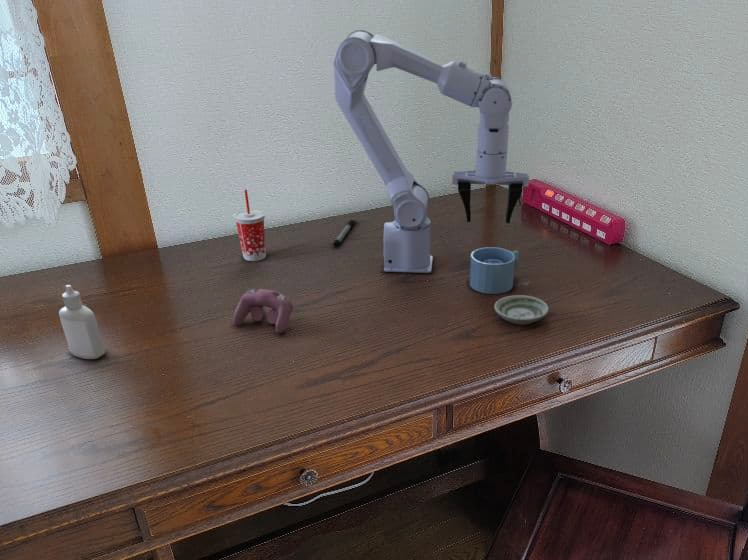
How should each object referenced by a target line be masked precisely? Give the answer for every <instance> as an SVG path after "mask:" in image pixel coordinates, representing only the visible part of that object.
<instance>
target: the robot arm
mask: <svg viewBox="0 0 748 560" xmlns="http://www.w3.org/2000/svg"><path fill="white" fill-rule="evenodd" d="M332 63H333V64H332V65H333V70H334V99H335V101H336V104H337V105H338V107H339V108H340V110H341V112H342V114H343V115H344V117H345V119H346V121H347V122H348V124H349V125H350V128H351V129H352V131H353V133H354V134H355V136H356V137H357V139H358V141H359V142H360V144H361V146H362V148H363V149H364V151H365V153H366V154H367V156H368V158H369V160H370V161H371V163H372V165H373V167H374V168H375V170H376V171H377V174H378V175H379V177H380V179H381V181H382V182H383V184H384V186H385V187H386V192H387V195H388V198H389V201H390V203H391V205H392V207H393V214H394V219H393V221H389V222H388V221H386V222H384V225H383V236H382V237H383V239H382V240H383V253H382V257H383V272H385V273H412V274H413V273H414V274H418V273H419V274H431V273H432V269H433V260H434V259H433V258H434V256H433V255H431V220H430V218H429V217H428V206H429V204H430V194H429V192H428V190H427V189H426V187H424V185H422V184H420V183H419V182H418V181H417V180H416V178H415V177H414V175H413V174H412V173H411V172H410V171H409V170H408V169H407V168H406V165H405V164H404V162H403V160H402V158H401V157H400V155H399V153H398V152H397V150H396V148H395V146H394V145H393V143H392V141H391V139H390V136H388V134H387V132H386V130H385V128H384V126H383V125H382V123H381V121H380V119H379V118H378V116H377V114H376V113H375V111H374V109H373V107H372V106H371V104H370V102H369V100H368V97H366V94H365V90H366V86H367V82H368V79H369V74H370V72H371V70H372V69H373V67H374V65H376V69H375V71H376V72H381V71H384V70H388V69H393V68H394V69H398V70H401V71H403V72H406V73H409V74H411V75H414V76H416V77H419V78H421V79H423V80H427V81H429V82H431V83H434V84H436V85H437V88H438V90H439V93H440V94H441V95H443V96H445V97H448V98H450V99H452V100H455V101H456V102H458V103H462V104H464V105H465V106H468V107H471V108H478V110H479V121H478V124H477V133H476V134H477V135H476V157H475V160H476V161H475V170H461V171H452V173H451V174H452V175H451V176H452V179H451V180H452V181H451V182H452V183H451V184H452V185H454V186H455V185H457V191H458V194H459V196H460V198H461V200H462V205H463V207H464V210H465V216H466V223H471V219H472V218H471V216H472V215H471V213H472V212H471V211H472V210H471V195H472V185H494V186H495V185H497V186H508V188H507V189H508V192H507V205H506V210H505V224H510V223H511V218H512V215H513V212H514V209H515V207H516V205H517V203H518V201H519V200H520V198H521V196H522V195H523V191H524V188H523V187H527V188H528V187H529V185H530V184H529V183H530V174H529V173H525V172H514V171H508V170H507V163H508V162H507V161H508V150H509V149H508V148H509V147H508V146H509V133H510V131H509V130H510V124H509V121H510V114H509V113H510V111H511V109H512V106H513V102H512V95H511V90H510V87H509V86H508V84H507V83H506V82H505V81H503V80H502V79H501V78H500V77H497V76H493V77H492V75H491V74H490V73H488V72H486V73H485V74H483V73H481V72H478V71H477V70H474V69H472V68H469V67H467V62H466V61H463V60H459V61H458V62H456V61H454V60H452V61H449V62H448V63H445V64H441V63H439V62H438V61H436V60H434V59H432V58H430V57H427V56H426V55H424V54H422V53H419V52H417V51H415V50H413V49H411V48H409V47H407V46H406V45H403V44H402V43H399V42H397V41H395V40H393V39H390V38H388V37H385V36H383V35H380V34H373V33H371V32H370V31H368V30H365V29H356V30H353V31H351V32H350V33H349V34H348V35H347V37H346V38H345V39H343V40H342V41H341V42H340V44H339V46H338V48H337V51H336V54H335V57H334V59H333V62H332Z"/></svg>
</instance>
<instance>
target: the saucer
mask: <svg viewBox="0 0 748 560" xmlns="http://www.w3.org/2000/svg"><path fill="white" fill-rule="evenodd" d="M493 307H494V310H495V312H496V313H497V315H498V316H500V317H501V318H502V319H503V320H505V321H508V322H509V323H512V324H514V325H520V326H522V325H523V326H524V325H530V324H532V323H535V322H538V321H539V320H541V319H543V318H545V317H546V316H547V314H548V313H549V309H550V308H549V306H548V304H547V302H545V301H544V300H542V299H540V298H538V297H535V296H531V295H526V294H525V295H523V294H516V295H515V294H514V295H508V296H504V297H502V298H499V299H498V300H497V301H496V302H495V303H494V305H493Z"/></svg>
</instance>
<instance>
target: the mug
mask: <svg viewBox="0 0 748 560" xmlns="http://www.w3.org/2000/svg"><path fill="white" fill-rule="evenodd" d="M519 253H520V252H519V250H517V249H515V250H509V249H506V248H502V247H495V246H485V247H479V248H476V249H474V250H472V252H470V256H469V257H470V258H469V259H470V260H469V286H470V288H471V289H472V290H474V291H476V292H478V293H481V294H487V295H500V294H505V293H507V292H509V291H511V290H512V289H513V287H514V283H515V282H514V281H515V272H516V271H518V265H519ZM488 259H497V260H500V261H502V262H503V263H501V264H488V263H483V262H484V261H485V260H488Z"/></svg>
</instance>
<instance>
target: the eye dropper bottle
mask: <svg viewBox="0 0 748 560" xmlns="http://www.w3.org/2000/svg"><path fill="white" fill-rule="evenodd" d="M61 297H62V300H63V304H64V306H63V307H62V308H60V310H59V311H58V316H59V320H60V323H61V327H62V329H63V333H64V336H65V339H66V343H67V345H68V349H69V352H70V354H72V355H73V356H74V357H75V358H76V357H77V358H80V359H84V360H96V359H99V358H100V357H102V356H104V355H105V354H106V350H105V346H104V343H103V339H102V336H101V332H100V328H99V325H98V321H97V319H96V316H95V313H94V311H92V310H91V309H90V308H89V307H87V306H86V305H83V300H82V298H81V293H80V292H79V291H77V290H74V288H73V286H72V285H71V284H66V285H65V292H64V293H62V295H61Z"/></svg>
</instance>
